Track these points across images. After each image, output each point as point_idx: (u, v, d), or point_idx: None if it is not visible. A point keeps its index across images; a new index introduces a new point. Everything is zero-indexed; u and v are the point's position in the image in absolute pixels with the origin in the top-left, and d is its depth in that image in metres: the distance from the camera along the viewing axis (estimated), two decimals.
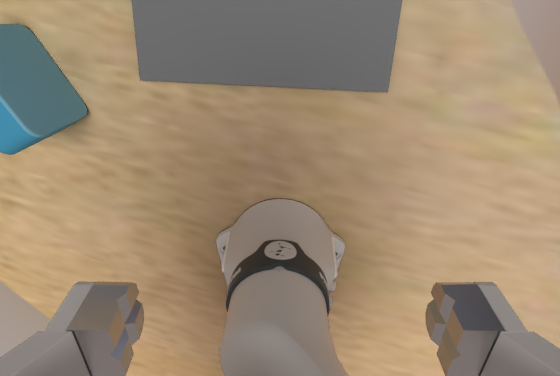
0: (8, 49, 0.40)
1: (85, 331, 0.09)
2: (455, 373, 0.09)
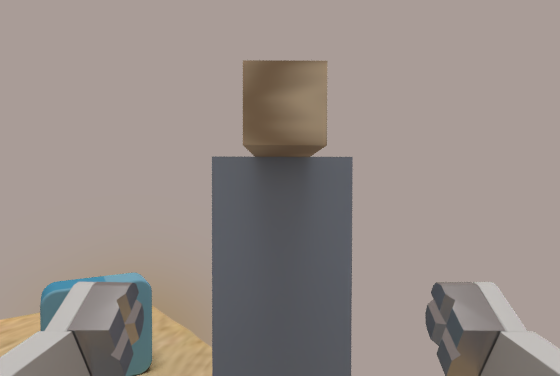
0: None
1: (85, 331, 0.09)
2: (456, 373, 0.09)
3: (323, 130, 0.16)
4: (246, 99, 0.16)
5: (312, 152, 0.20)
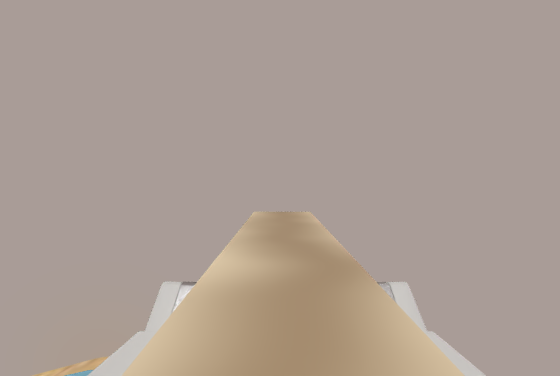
0: None
1: None
2: None
3: None
4: None
5: None
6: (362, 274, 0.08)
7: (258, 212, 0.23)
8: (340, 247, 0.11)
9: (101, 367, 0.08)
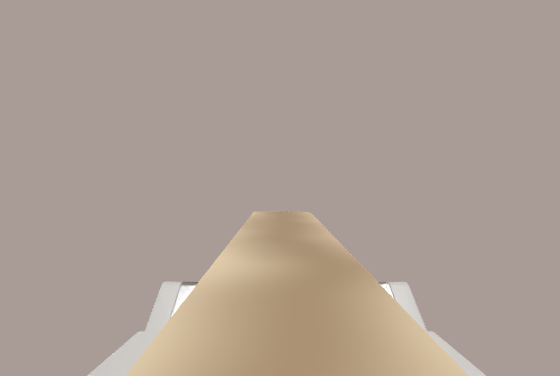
0: None
1: None
2: None
3: None
4: None
5: None
6: (363, 274, 0.08)
7: (258, 212, 0.23)
8: (341, 247, 0.11)
9: (102, 366, 0.08)
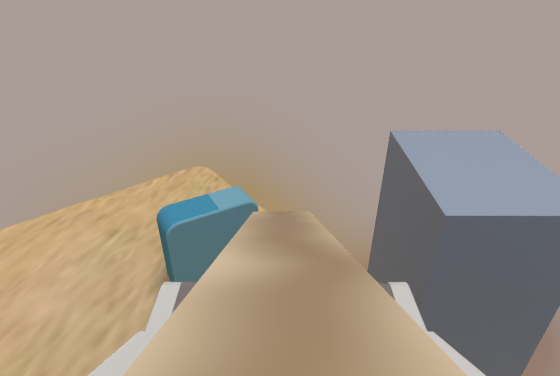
0: None
1: None
2: None
3: None
4: None
5: None
6: (362, 273, 0.08)
7: (257, 212, 0.23)
8: (340, 246, 0.11)
9: (102, 366, 0.08)
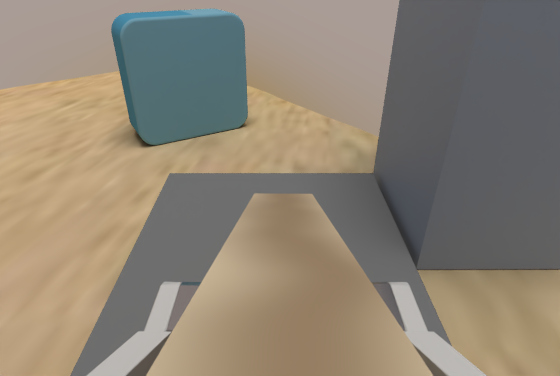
0: (222, 74, 0.39)
1: None
2: None
3: None
4: None
5: None
6: (368, 289, 0.07)
7: (258, 194, 0.23)
8: (344, 246, 0.11)
9: (101, 366, 0.08)
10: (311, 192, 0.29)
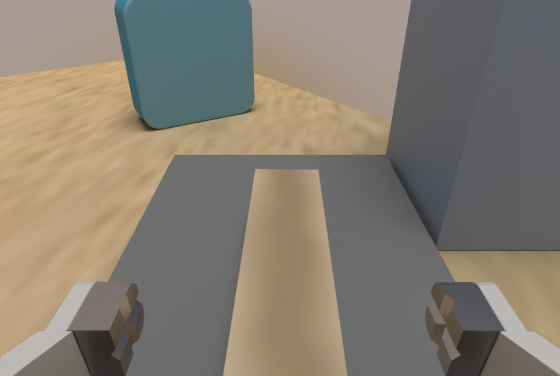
0: (228, 56, 0.38)
1: (85, 331, 0.09)
2: (455, 373, 0.09)
3: None
4: None
5: None
6: None
7: (260, 173, 0.21)
8: None
9: None
10: (322, 173, 0.28)
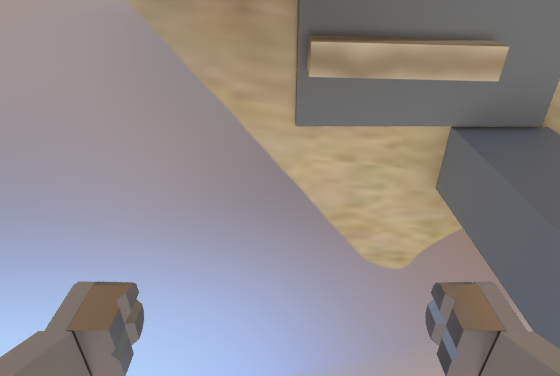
0: None
1: (85, 331, 0.09)
2: (456, 373, 0.09)
3: (307, 68, 0.42)
4: (309, 40, 0.39)
5: None
6: (350, 76, 0.40)
7: (503, 49, 0.38)
8: (381, 77, 0.40)
9: None
10: (531, 81, 0.44)
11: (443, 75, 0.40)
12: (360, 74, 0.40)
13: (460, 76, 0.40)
